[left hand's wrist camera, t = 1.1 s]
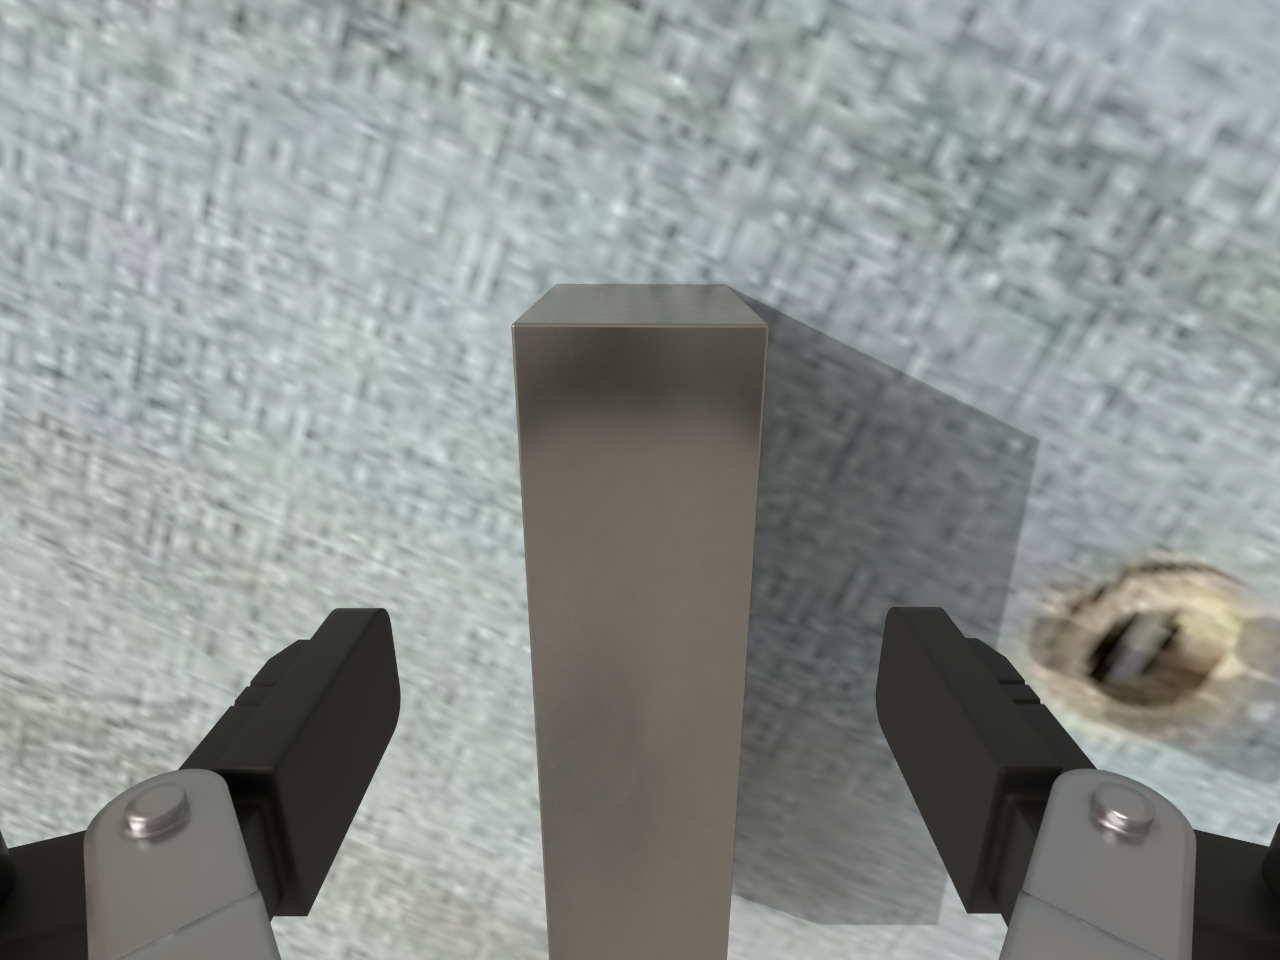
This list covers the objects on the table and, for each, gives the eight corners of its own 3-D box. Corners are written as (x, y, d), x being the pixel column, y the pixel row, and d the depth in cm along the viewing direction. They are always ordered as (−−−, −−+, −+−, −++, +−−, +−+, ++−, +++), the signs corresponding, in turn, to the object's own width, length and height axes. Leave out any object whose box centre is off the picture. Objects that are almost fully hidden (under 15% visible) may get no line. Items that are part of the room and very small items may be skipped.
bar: (554, 283, 24) (510, 323, 16) (727, 284, 24) (770, 324, 16) (575, 840, 33) (554, 1048, 25) (701, 841, 33) (721, 1048, 25)
